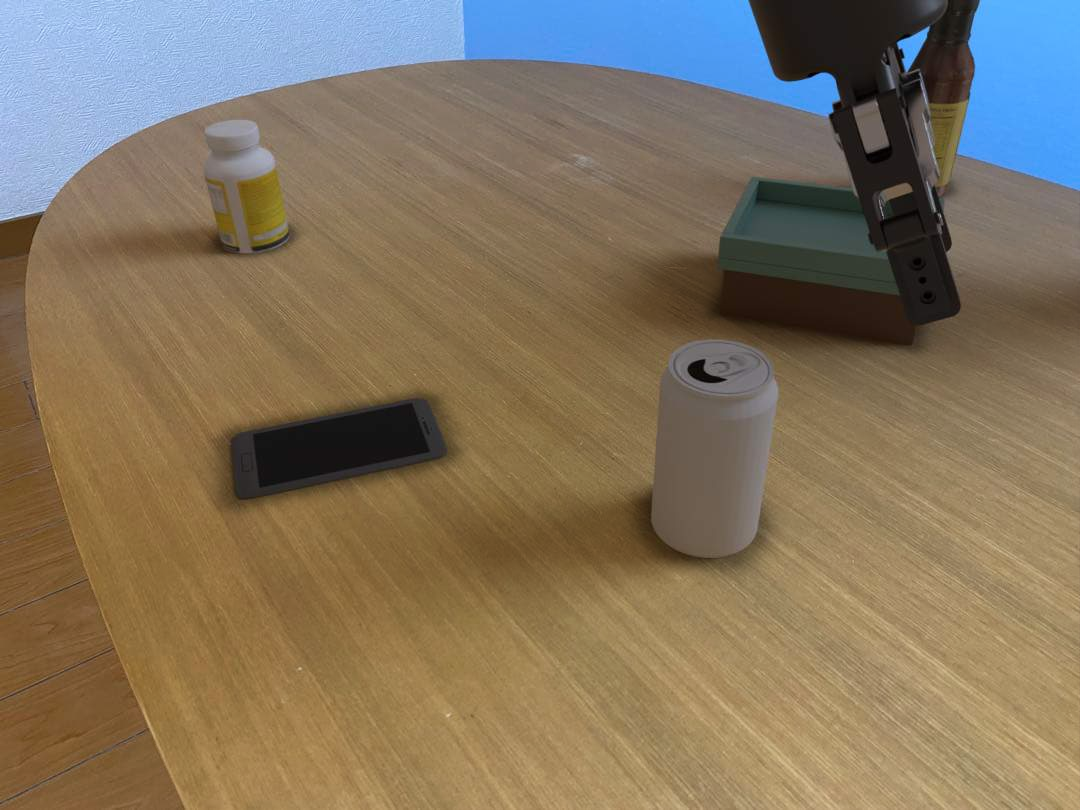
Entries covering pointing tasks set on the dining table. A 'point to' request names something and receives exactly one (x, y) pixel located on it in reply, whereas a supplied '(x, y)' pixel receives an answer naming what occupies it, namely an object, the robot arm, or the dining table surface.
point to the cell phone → (334, 448)
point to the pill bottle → (244, 188)
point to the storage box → (809, 263)
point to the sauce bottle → (948, 80)
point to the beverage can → (712, 446)
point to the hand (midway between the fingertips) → (933, 283)
